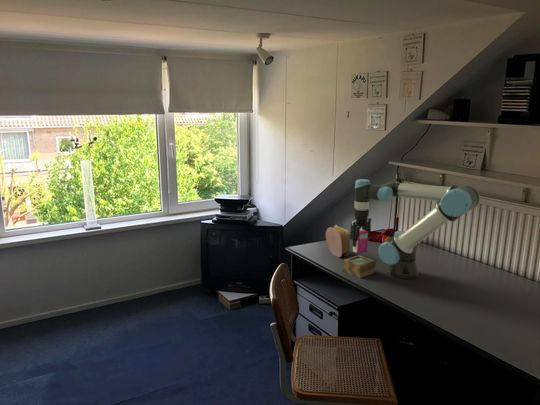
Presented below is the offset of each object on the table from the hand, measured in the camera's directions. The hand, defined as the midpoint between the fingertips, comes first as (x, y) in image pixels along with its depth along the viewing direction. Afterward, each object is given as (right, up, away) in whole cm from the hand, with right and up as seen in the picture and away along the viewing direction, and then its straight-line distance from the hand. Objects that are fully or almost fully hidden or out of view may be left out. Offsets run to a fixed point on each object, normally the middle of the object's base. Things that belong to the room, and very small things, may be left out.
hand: (359, 250), depth 237 cm
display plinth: (0, -12, +3) cm, 12 cm away
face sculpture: (-7, -6, +31) cm, 33 cm away
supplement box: (0, -1, 0) cm, 1 cm away
